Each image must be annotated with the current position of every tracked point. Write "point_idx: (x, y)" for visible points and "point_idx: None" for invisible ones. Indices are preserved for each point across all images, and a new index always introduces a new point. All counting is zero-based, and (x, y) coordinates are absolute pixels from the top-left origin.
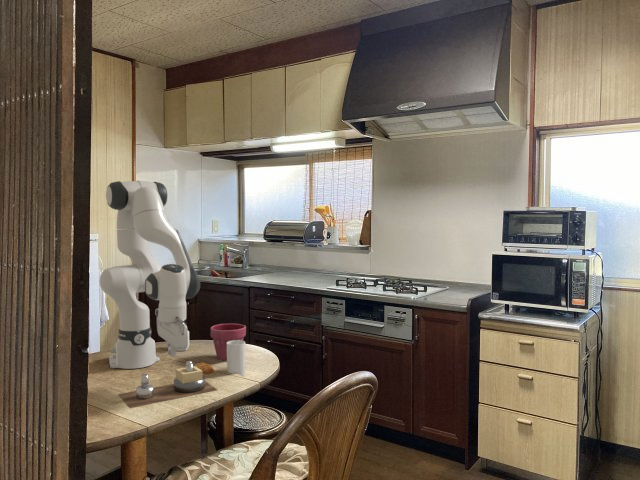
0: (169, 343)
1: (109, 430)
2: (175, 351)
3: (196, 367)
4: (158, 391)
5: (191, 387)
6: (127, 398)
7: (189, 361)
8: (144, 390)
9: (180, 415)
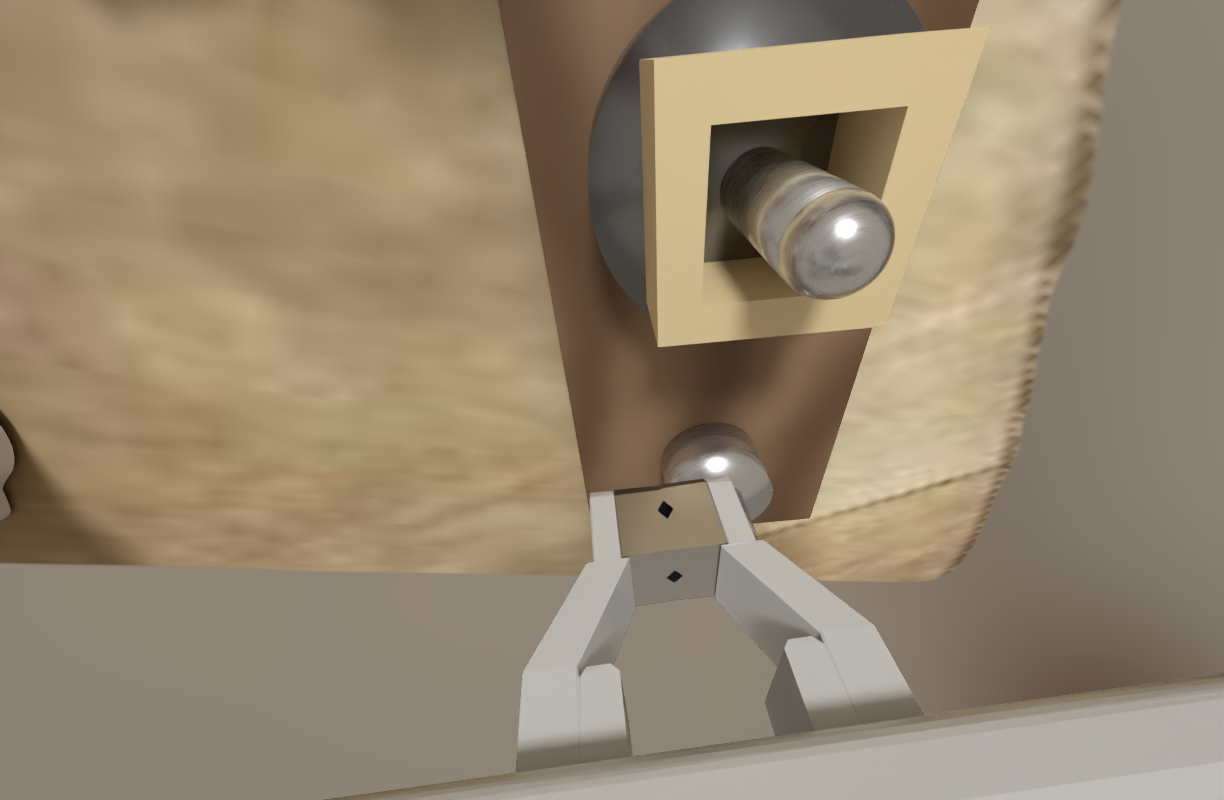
0: (628, 722)
1: (899, 552)
2: (752, 540)
3: (747, 66)
4: (662, 390)
5: None
6: None
7: (876, 265)
8: (766, 505)
9: (1042, 330)
